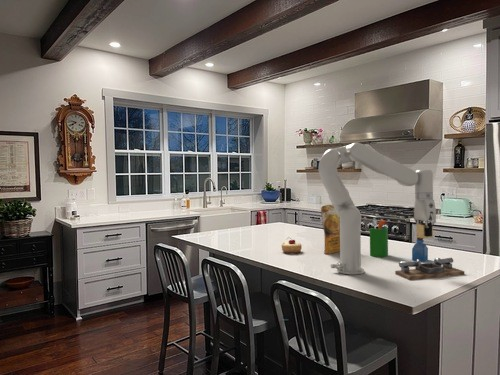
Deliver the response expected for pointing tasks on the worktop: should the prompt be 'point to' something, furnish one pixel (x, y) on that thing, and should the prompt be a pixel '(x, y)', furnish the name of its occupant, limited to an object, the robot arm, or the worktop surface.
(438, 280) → the worktop surface
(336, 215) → the pancake mix bag
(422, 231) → the coupling block
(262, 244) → the worktop surface
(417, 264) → the left shaft
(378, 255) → the green bottle
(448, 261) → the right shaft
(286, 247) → the pastry
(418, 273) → the stand
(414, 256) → the perfume bottle
